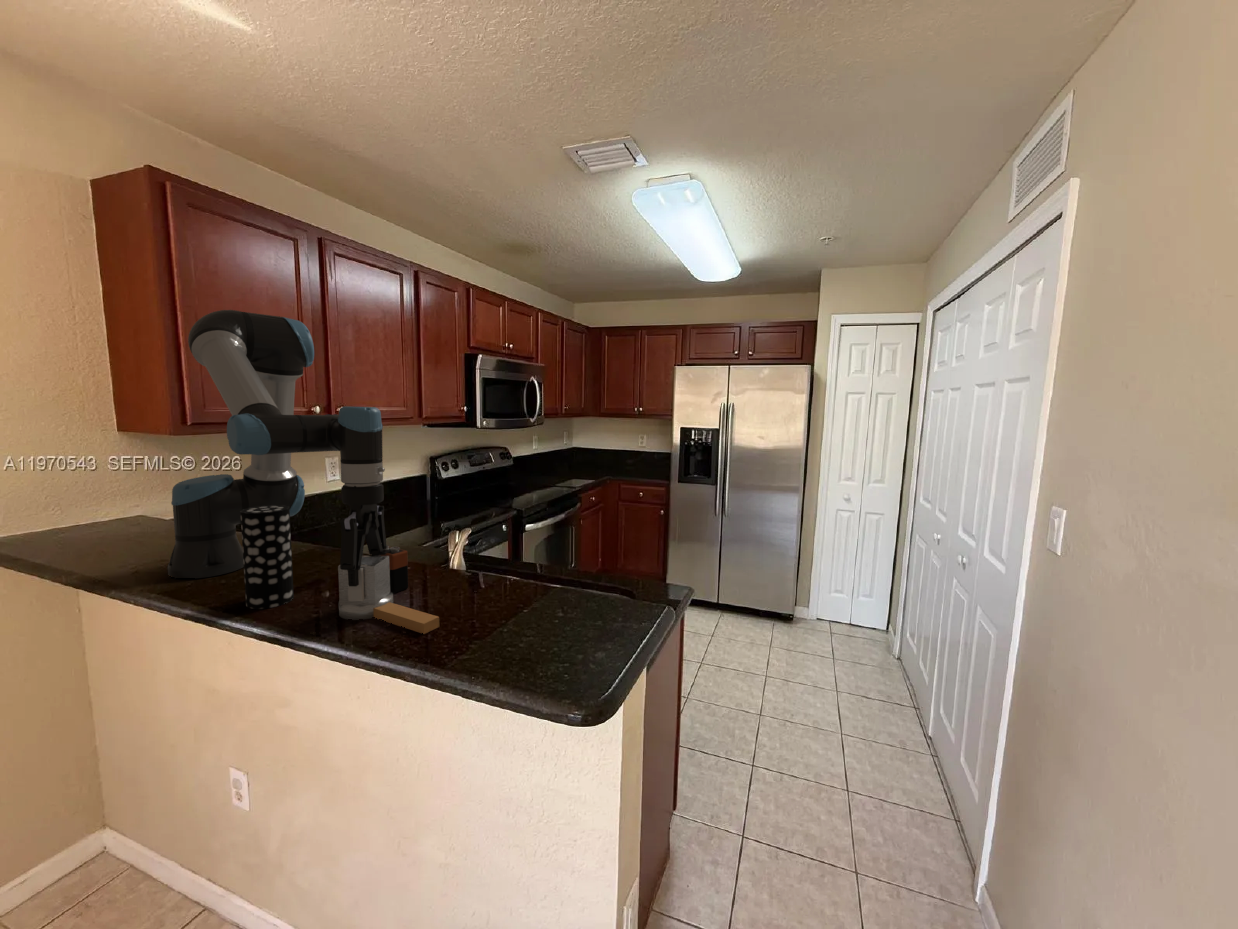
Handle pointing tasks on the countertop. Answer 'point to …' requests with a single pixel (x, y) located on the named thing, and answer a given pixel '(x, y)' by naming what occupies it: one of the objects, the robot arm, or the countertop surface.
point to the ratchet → (391, 614)
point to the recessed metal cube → (368, 581)
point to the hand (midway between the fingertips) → (366, 592)
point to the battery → (397, 568)
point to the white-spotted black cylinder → (267, 556)
